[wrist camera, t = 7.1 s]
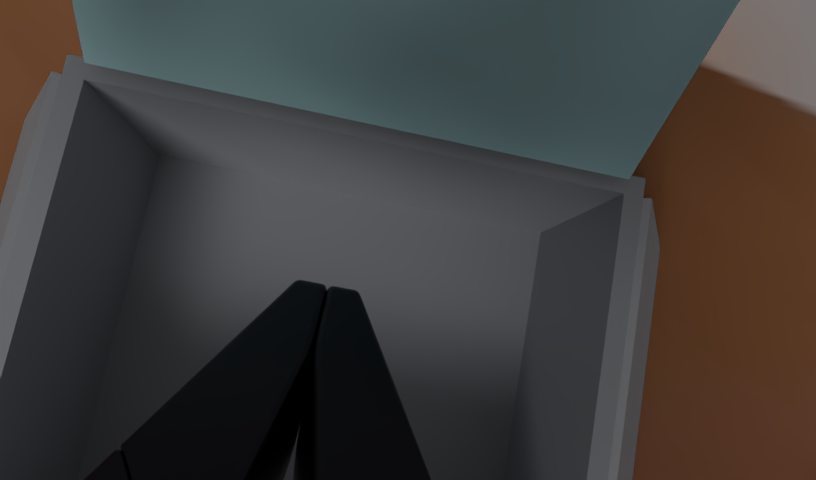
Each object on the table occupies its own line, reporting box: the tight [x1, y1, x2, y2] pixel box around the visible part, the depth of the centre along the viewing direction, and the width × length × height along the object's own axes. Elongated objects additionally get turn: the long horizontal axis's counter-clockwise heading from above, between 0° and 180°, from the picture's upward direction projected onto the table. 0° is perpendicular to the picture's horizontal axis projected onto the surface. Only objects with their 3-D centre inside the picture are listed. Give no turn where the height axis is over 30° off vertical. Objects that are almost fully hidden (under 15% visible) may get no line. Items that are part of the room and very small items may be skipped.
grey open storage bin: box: [0, 54, 660, 480], centre depth 17 cm, size 15×20×7 cm
